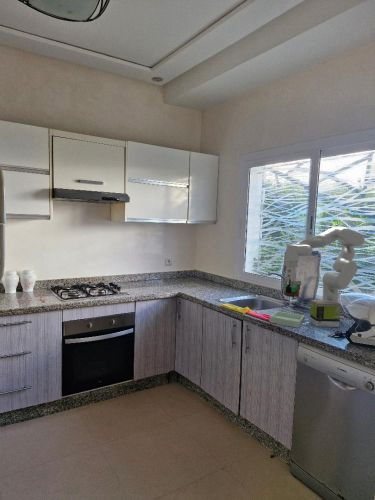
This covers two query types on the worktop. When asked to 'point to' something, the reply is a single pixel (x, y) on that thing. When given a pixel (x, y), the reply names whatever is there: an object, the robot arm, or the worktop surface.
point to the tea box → (325, 313)
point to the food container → (292, 288)
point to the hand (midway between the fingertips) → (289, 291)
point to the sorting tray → (287, 319)
